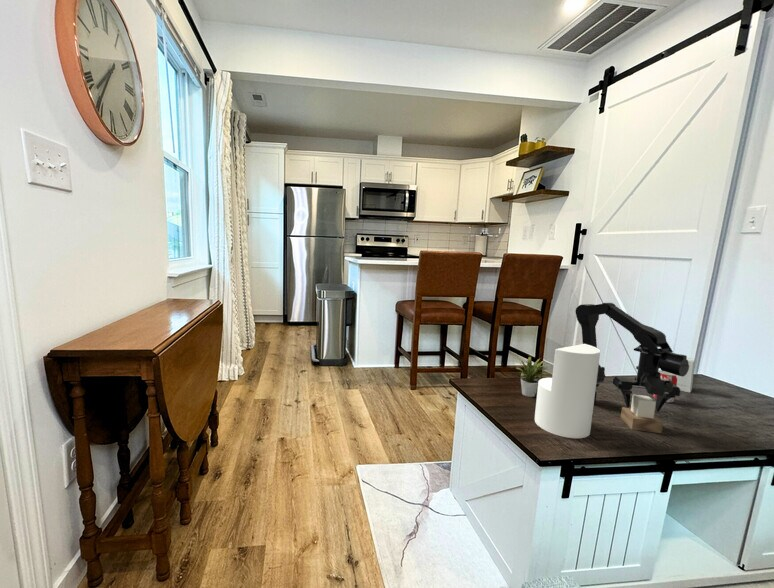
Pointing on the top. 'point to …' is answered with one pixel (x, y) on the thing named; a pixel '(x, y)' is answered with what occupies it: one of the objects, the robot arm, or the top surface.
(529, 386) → the house plant
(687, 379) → the skincare box
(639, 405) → the cream cube
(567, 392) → the white stepped curved block
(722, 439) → the top surface
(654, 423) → the tan square slab
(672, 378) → the soda can
